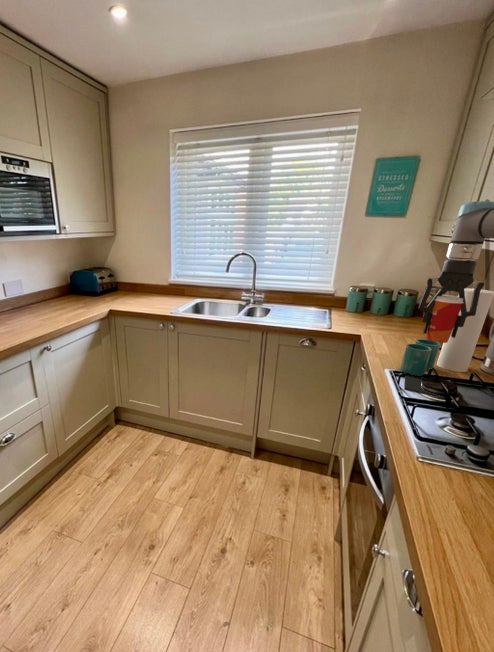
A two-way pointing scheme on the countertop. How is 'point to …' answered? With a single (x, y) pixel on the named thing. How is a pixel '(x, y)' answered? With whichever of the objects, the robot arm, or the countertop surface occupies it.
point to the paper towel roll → (465, 335)
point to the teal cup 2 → (434, 351)
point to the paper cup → (443, 318)
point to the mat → (415, 386)
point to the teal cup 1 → (415, 359)
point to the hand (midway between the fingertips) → (438, 334)
